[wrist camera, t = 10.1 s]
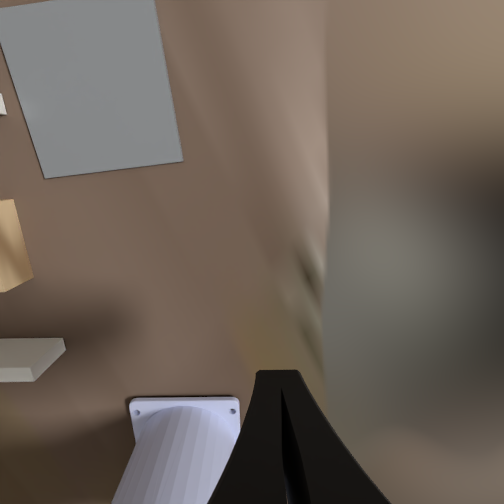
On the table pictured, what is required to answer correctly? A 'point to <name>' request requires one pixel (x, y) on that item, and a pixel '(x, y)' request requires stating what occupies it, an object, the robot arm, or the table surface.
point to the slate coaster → (92, 84)
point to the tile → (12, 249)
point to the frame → (27, 348)
